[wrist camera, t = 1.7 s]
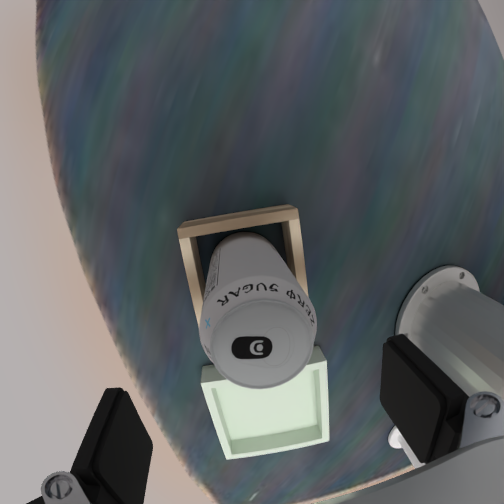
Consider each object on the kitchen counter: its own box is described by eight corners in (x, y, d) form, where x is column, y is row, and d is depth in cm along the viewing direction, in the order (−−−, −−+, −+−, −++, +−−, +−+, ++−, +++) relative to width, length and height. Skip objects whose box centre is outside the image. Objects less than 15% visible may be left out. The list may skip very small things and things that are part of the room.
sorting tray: (322, 424, 34) (329, 440, 31) (225, 442, 34) (226, 459, 31) (318, 345, 31) (326, 360, 28) (202, 366, 31) (200, 383, 28)
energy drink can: (276, 294, 30) (318, 394, 15) (211, 294, 29) (200, 399, 15) (278, 230, 28) (333, 285, 14) (210, 229, 28) (193, 286, 13)
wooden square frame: (300, 300, 30) (310, 318, 26) (204, 317, 30) (201, 337, 26) (287, 204, 28) (297, 208, 24) (183, 221, 27) (177, 229, 24)
